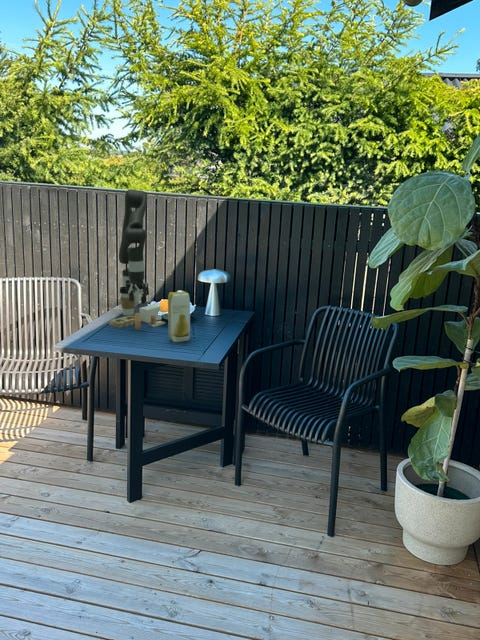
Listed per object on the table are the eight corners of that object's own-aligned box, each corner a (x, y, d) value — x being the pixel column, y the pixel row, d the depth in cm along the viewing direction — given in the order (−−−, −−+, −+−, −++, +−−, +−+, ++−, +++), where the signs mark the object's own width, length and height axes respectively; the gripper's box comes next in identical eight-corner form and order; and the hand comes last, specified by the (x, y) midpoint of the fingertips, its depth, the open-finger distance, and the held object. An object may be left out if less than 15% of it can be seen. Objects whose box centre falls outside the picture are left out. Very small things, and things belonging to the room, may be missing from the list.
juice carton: (172, 343, 267) (172, 292, 261) (167, 338, 274) (166, 289, 267) (191, 341, 271) (191, 291, 265) (185, 336, 278) (185, 287, 271)
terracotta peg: (133, 329, 288) (133, 313, 286) (138, 327, 290) (137, 312, 288) (137, 330, 286) (137, 314, 284) (142, 329, 289) (141, 313, 287)
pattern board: (148, 325, 295) (148, 315, 294) (160, 322, 301) (159, 312, 300) (154, 326, 293) (153, 317, 291) (165, 323, 299) (165, 314, 297)
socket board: (119, 328, 290) (119, 323, 289) (109, 325, 294) (109, 320, 294) (140, 322, 300) (140, 317, 299) (130, 319, 305) (130, 315, 304)
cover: (139, 320, 303) (139, 307, 302) (153, 317, 311) (153, 304, 309) (147, 322, 300) (147, 309, 298) (161, 319, 307) (161, 306, 305)
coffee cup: (118, 313, 318) (117, 286, 314) (134, 311, 322) (133, 285, 318) (122, 316, 311) (121, 289, 307) (138, 315, 314) (137, 288, 310)
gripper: (152, 270, 279) (153, 303, 283) (132, 267, 288) (133, 298, 292) (140, 272, 273) (141, 305, 278) (120, 269, 282) (122, 301, 286)
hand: (137, 302), depth 285 cm, fingers open, 8 cm apart
